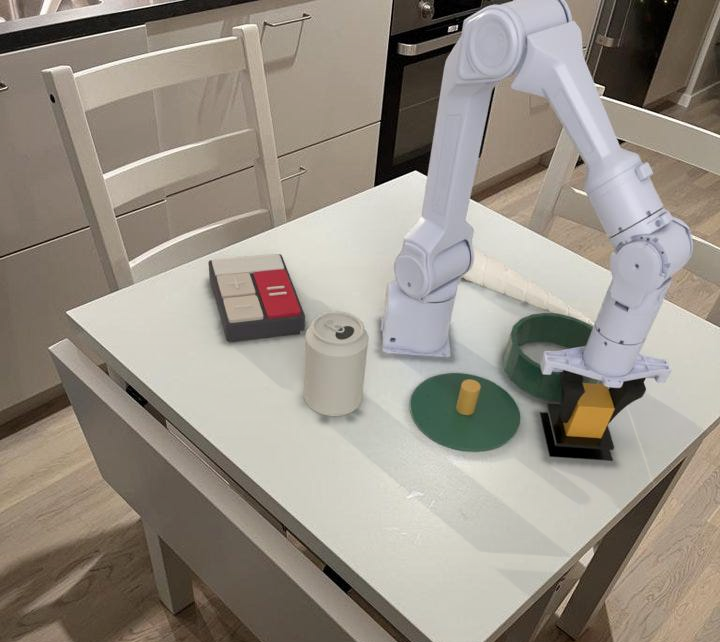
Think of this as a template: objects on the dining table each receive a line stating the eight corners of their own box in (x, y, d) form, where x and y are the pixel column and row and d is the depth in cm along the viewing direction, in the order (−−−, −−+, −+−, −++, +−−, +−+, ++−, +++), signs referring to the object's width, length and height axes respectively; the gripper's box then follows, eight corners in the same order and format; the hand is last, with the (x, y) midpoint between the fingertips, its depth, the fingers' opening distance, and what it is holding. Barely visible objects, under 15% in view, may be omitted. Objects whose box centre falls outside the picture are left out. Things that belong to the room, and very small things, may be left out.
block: (566, 436, 90) (578, 406, 86) (560, 411, 93) (571, 381, 89) (601, 438, 90) (615, 408, 87) (594, 414, 93) (607, 384, 89)
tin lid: (410, 451, 90) (416, 421, 86) (407, 375, 99) (412, 345, 95) (525, 458, 90) (536, 429, 87) (511, 382, 100) (520, 353, 96)
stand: (548, 459, 91) (553, 445, 89) (538, 415, 96) (543, 401, 94) (611, 463, 91) (618, 450, 89) (598, 419, 96) (604, 405, 94)
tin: (508, 401, 97) (517, 371, 93) (497, 338, 106) (505, 309, 102) (607, 408, 98) (620, 379, 94) (588, 345, 107) (599, 316, 103)
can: (341, 429, 91) (347, 353, 82) (292, 404, 93) (293, 328, 84) (372, 397, 96) (381, 321, 87) (324, 374, 98) (329, 298, 89)
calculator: (225, 321, 98) (207, 255, 106) (227, 346, 101) (209, 280, 110) (306, 312, 100) (281, 248, 109) (304, 336, 104) (281, 273, 113)
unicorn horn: (585, 341, 107) (596, 313, 104) (448, 278, 116) (453, 251, 112) (598, 326, 110) (609, 299, 107) (463, 266, 118) (468, 239, 115)
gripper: (562, 347, 78) (529, 437, 88) (695, 356, 78) (648, 445, 88) (551, 307, 82) (522, 398, 92) (677, 317, 83) (634, 405, 93)
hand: (583, 418), depth 91 cm, fingers closed on block, 4 cm apart
